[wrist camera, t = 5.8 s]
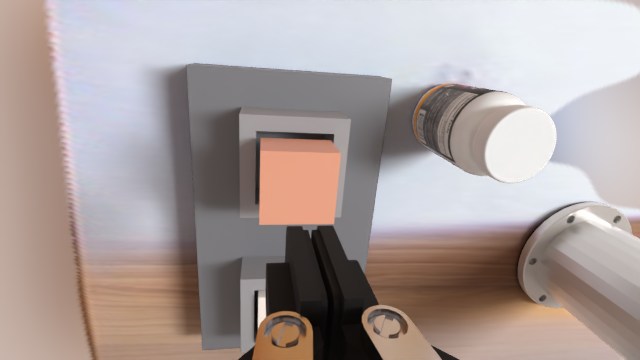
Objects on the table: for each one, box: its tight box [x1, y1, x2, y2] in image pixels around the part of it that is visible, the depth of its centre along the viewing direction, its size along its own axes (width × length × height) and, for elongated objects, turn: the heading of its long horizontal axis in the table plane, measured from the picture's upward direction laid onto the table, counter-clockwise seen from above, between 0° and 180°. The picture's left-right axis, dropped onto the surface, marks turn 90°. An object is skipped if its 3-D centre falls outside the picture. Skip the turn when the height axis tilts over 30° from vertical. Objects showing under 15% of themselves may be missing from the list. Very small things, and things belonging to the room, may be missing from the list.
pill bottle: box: [413, 84, 556, 183], centre depth 25 cm, size 6×6×10 cm
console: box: [186, 63, 392, 353], centre depth 27 cm, size 14×24×6 cm, turn 176°
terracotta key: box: [259, 138, 341, 225], centre depth 21 cm, size 4×4×3 cm
